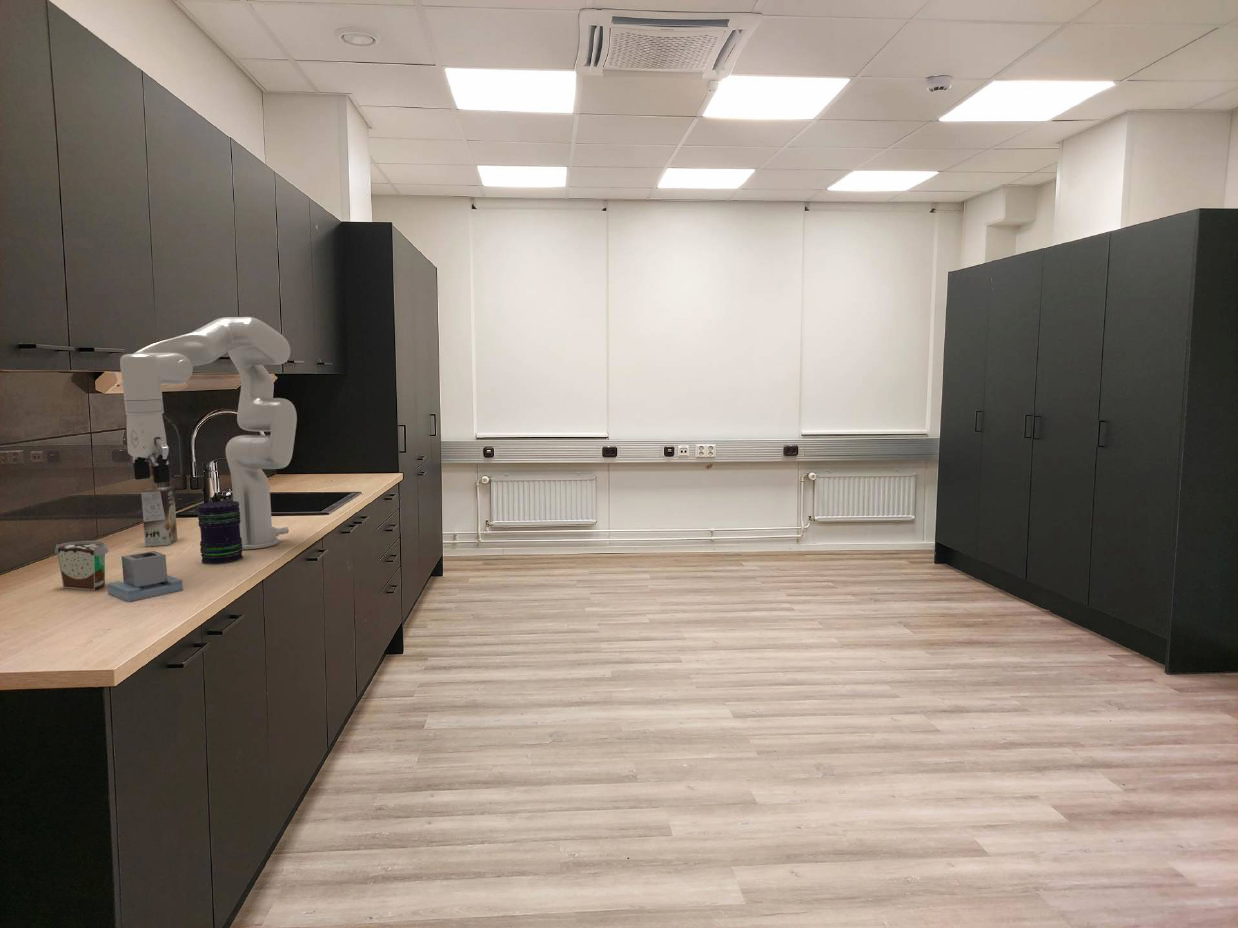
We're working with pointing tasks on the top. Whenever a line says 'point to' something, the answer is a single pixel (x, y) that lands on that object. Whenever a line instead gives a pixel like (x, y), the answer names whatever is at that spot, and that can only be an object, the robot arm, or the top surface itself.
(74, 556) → the food container
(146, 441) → the robot arm
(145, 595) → the shaft block
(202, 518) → the dark blue barrel
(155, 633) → the top surface
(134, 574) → the grey hollow block
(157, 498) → the coffee box
